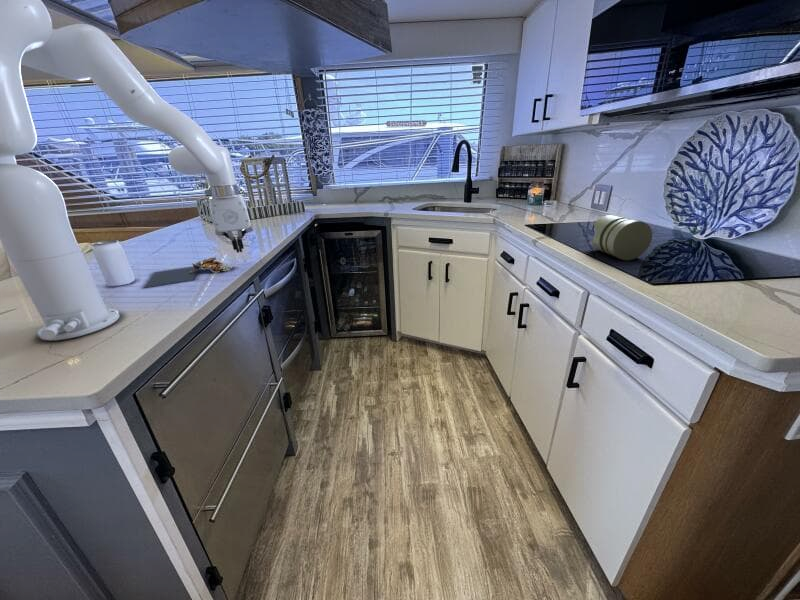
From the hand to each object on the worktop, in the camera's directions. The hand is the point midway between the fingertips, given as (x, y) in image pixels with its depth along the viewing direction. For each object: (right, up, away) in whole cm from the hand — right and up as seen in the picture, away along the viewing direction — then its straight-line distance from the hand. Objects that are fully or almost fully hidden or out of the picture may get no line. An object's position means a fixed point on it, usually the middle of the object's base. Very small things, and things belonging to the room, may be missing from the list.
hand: (239, 251), depth 104 cm
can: (-29, -11, -10) cm, 33 cm away
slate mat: (-17, -8, -6) cm, 20 cm away
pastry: (-7, -6, -2) cm, 10 cm away
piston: (+119, -2, -3) cm, 119 cm away
